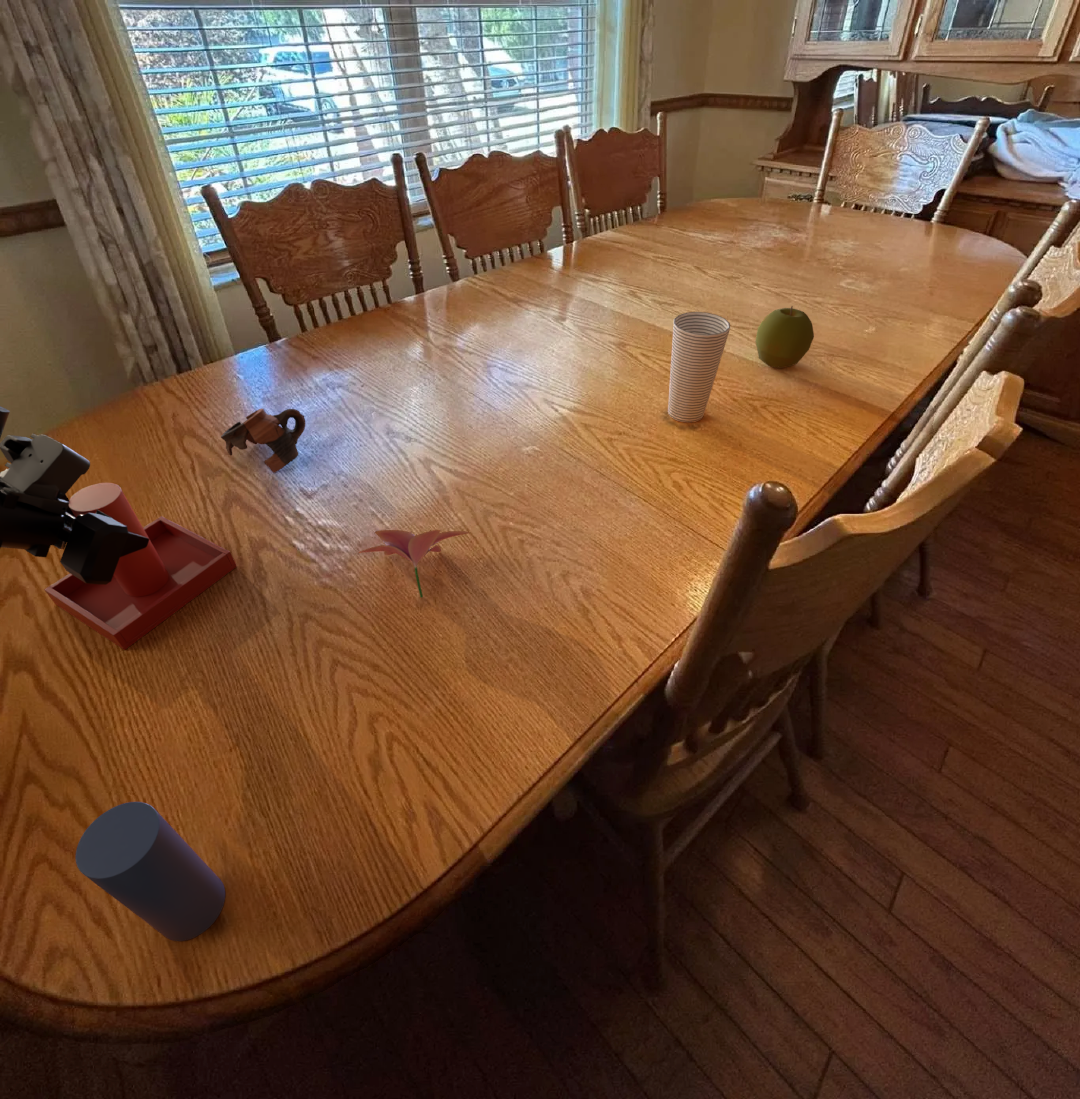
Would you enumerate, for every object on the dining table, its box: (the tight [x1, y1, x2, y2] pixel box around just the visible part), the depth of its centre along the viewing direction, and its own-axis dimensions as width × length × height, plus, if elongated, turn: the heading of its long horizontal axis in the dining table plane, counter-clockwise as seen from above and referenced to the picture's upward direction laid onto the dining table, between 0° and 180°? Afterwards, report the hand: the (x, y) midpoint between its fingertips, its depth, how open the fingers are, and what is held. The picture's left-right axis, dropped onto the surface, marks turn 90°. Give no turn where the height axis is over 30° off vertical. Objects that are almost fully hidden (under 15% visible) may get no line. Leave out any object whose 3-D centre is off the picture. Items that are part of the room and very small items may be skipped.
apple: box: [754, 305, 815, 369], centre depth 115 cm, size 10×10×11 cm
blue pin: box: [75, 801, 226, 942], centre depth 46 cm, size 5×5×13 cm
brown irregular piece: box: [220, 408, 306, 474], centre depth 95 cm, size 12×10×8 cm
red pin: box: [69, 482, 169, 597], centre depth 71 cm, size 5×5×13 cm
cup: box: [667, 311, 731, 423], centre depth 100 cm, size 8×8×16 cm
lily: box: [357, 529, 471, 598], centre depth 75 cm, size 12×12×10 cm
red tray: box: [43, 515, 238, 651], centre depth 75 cm, size 15×13×3 cm
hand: (132, 534), depth 72 cm, fingers closed on red pin, 5 cm apart
